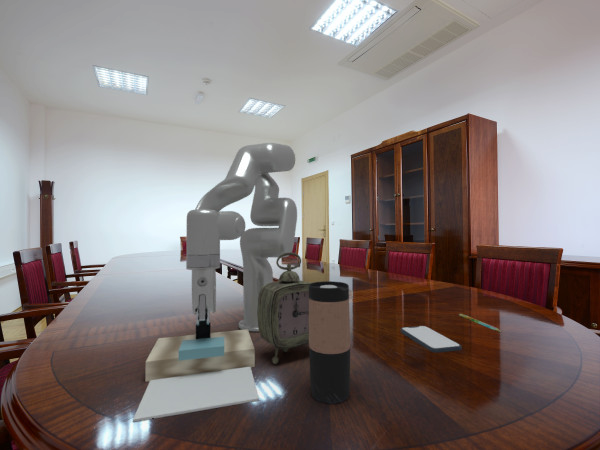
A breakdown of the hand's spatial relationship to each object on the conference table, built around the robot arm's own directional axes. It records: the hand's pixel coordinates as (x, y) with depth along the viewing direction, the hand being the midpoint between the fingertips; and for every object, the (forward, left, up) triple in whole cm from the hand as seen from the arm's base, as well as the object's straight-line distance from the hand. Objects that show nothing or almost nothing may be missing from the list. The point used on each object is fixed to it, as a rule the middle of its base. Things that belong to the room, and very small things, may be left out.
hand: (203, 341), depth 68 cm
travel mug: (-23, +21, -5) cm, 32 cm away
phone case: (-59, +4, -6) cm, 59 cm away
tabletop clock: (-20, +2, -5) cm, 21 cm away
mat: (0, +13, -5) cm, 14 cm away
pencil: (-85, -3, -5) cm, 85 cm away
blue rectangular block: (0, +5, -1) cm, 5 cm away
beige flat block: (0, -1, -5) cm, 5 cm away
